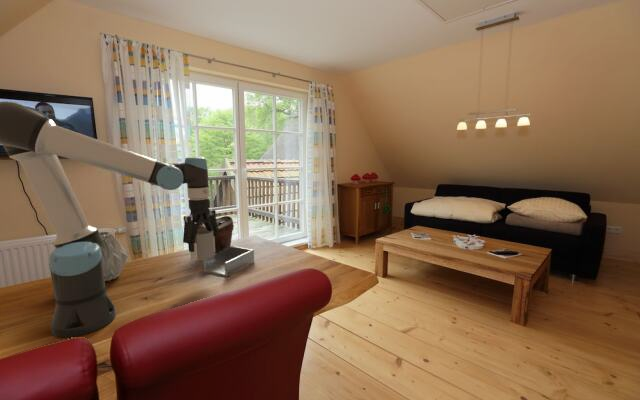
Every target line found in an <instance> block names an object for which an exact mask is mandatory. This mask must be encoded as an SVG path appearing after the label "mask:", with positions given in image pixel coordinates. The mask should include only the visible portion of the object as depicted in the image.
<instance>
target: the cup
mask: <svg viewBox="0 0 640 400" xmlns="http://www.w3.org/2000/svg"><path fill="white" fill-rule="evenodd" d="M194 243H196V244H197V257H198V260H197V261H203V260H206V259H210V258H212V257H214V256H215V252H214V237H213V230H212V229H211V231H209V230H207V229H198V231H197V234H196V238H195V242H194Z"/></svg>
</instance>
